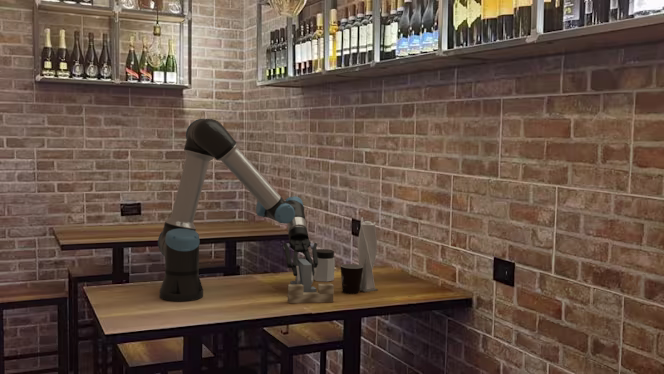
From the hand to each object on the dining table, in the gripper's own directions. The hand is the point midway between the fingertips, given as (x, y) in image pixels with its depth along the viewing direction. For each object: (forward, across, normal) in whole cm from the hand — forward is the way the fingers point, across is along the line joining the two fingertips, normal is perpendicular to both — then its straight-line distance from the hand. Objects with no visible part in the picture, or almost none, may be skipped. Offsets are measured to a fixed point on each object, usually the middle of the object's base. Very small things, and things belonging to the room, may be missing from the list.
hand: (305, 282), depth 237 cm
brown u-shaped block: (+10, 0, +3) cm, 10 cm away
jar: (-14, -13, -21) cm, 28 cm away
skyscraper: (-2, -26, -8) cm, 27 cm away
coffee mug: (+1, -19, -6) cm, 20 cm away
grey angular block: (+1, 0, -6) cm, 6 cm away
